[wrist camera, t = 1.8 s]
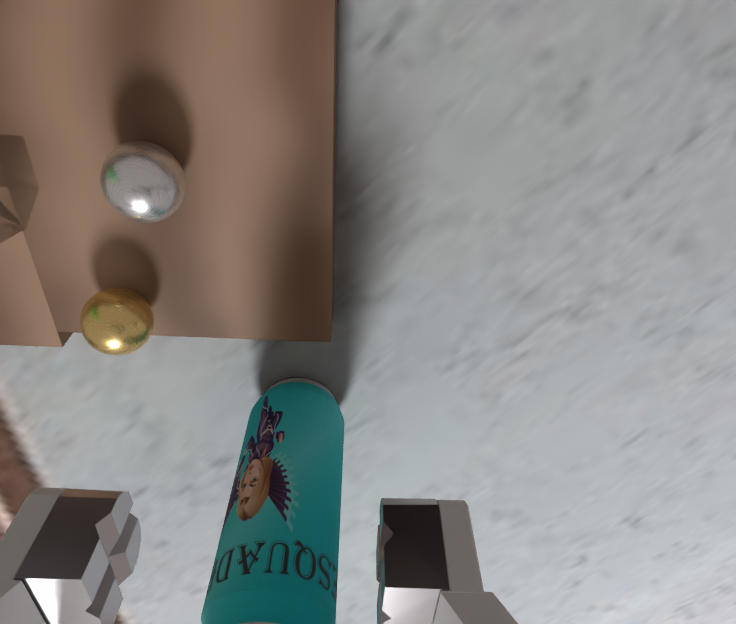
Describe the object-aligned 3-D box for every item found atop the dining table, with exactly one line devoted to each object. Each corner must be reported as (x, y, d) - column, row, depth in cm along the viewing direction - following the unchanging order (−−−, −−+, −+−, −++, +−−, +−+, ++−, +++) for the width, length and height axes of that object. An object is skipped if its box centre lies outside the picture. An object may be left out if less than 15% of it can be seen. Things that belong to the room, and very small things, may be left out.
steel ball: (189, 132, 22) (165, 159, 20) (199, 205, 24) (178, 238, 22) (110, 128, 22) (76, 154, 20) (126, 202, 24) (96, 234, 22)
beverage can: (304, 354, 32) (266, 613, 20) (363, 409, 35) (361, 669, 23) (235, 397, 34) (161, 657, 22) (295, 446, 37) (260, 704, 25)
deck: (339, -113, 20) (336, -118, 18) (332, 328, 31) (330, 356, 29) (-345, -156, 19) (-431, -166, 17) (-97, 312, 31) (-131, 339, 28)
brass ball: (156, 276, 26) (133, 314, 24) (167, 329, 28) (146, 370, 26) (89, 273, 26) (58, 311, 24) (104, 327, 28) (77, 368, 25)
